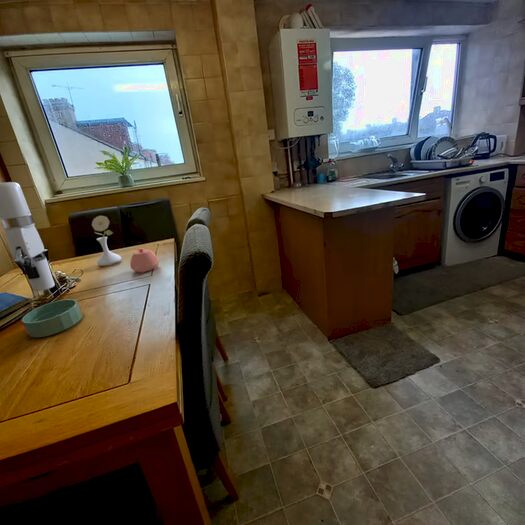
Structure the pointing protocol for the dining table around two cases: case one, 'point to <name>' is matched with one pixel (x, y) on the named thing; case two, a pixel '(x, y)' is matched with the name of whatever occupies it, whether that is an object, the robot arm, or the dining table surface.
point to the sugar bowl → (143, 260)
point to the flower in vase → (104, 242)
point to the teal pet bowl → (52, 318)
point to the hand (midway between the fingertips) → (39, 274)
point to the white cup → (42, 275)
